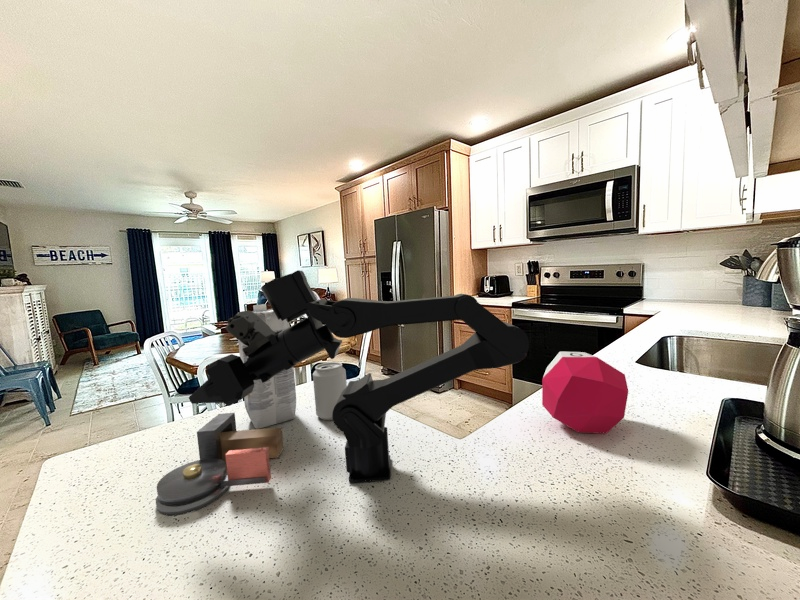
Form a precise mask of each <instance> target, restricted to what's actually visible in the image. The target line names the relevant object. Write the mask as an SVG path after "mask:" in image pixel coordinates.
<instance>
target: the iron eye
mask: <svg viewBox="0 0 800 600" xmlns="http://www.w3.org/2000/svg"><path fill="white" fill-rule="evenodd" d="M229 431H237V422H236V414H235V412H229V413H228V412H226V413H218V414H217V415H216V416H214V417H213V418H212V419H211V420H209V421H208V422H207V423H205V425H203V426H202V427H201V428H199V429H198V430H197V431H196V435H197V437H196V438H197V445H198V455H199V460H202V459H210V458H215V459H221V460H223V459H222V450H221V440H220V432H229Z"/></svg>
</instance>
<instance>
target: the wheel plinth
mask: <svg viewBox="0 0 800 600" xmlns="http://www.w3.org/2000/svg"><path fill="white" fill-rule="evenodd" d="M227 475H228V474H227ZM229 488H230V486H221V487H220V488H218V489H217V490H216V491H214V492H213V493H211V494H210V495H208V496H206V497H204V498H202V499H200V500H197V501H194V502H191V503H188V504H184V505H179V506H165V505H162V504H161V503H159V501H158V495H157V496H156V498H155V508H156V511H157V512H158V513H159V514H160V515H163V516H166V517H167V516H168V517H169V516H171V517H173V516H176V517H177V516H181V515H186V514H189V513H193V512H195V511H198V510H200V509H203V508H205V507H207V506H209V505H211V504H212V503H214V502H215V501H217V500H218V499H220V498H221V497H222V496H223V495H224V494H225V493H226V492H227V490H228V489H229Z"/></svg>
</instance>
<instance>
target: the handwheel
mask: <svg viewBox="0 0 800 600" xmlns="http://www.w3.org/2000/svg"><path fill="white" fill-rule="evenodd" d="M270 460H271V459H270V458H269V450H268V447H265V448H254V449H242V450H230V451H228V452H227V454H226V462H224V461H223V460H221V459H215V458H210V459H202V460H200V459H198V460H195V461H191V462H187V463H186V464H183V465H181V466H179V467H176V468H174V469H173V470H171V471H169V472H168V473H166V474H164V475H163V476H162V477H161V478H160V479H159V481H158V482H157V485H156V493H157V496H158V501H159V503H161V504H162V505H165V506H179V505H184V504H188V503H191V502H194V501H197V500H200V499H202V498H204V497H206V496H208V495H210V494H211V493H213V492H214V491H216V490H217V489H218V488H220V487H221V486H229V487H235V486H236V487H237V486H246V485H258V484H269V483H270V481H271V479H272V473H271V471H272V470H271V463H270ZM227 474H228V475H227Z"/></svg>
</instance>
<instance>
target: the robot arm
mask: <svg viewBox="0 0 800 600" xmlns="http://www.w3.org/2000/svg"><path fill="white" fill-rule="evenodd" d="M260 290H261V292H262V294H263V295H264V297H265V299H266V300H267V302H268V304H269V306H270V307H271V308H270V309H273V311H274V313H275V315H276V316H277V318H278V320H280V319H281V320H282V321H283V320H285V319H287V322H288V323H289V324H290V323H291V322H293V321H295V320H297V319H299V318H301V317H303V316H305V315H306V318H304V319H302V320H301V321H299V322H296V323H295V324H292V325H291V326H290V327H289V328H287V329H285V330H283V331H282V330H281V331H278V332H277V333H275V332H274V331H273V330H272V329H271V328H270V327H269V326H268V325H267V324H266V323H265V322H264V321H263V320H261V319H260V318H259V317H258V316H257V315H256V314H255V313H253V312H252V311H253V310H252V311H251V310H244V311H239V312H237V313H236V314H235V315H234V316H232V317H230V318H228V319H227V325H226V326H225V330H226V331H227V332H228V333H229V334H230V335H232V336H233V337H234V338H235V339H236V340H237V341H238V340H240V341H241V342H242V343H243V344H245V345H247V347H245V348H243V349H242V350H243V352H244V353H245V355H246V356H248V357H247V361H246V362H245V363H243V361H242V359H241V358H240V355H235V354H233V353H231V354H228V355H226V356H223V357H221V358H219V359H218V358H217V360H214V361H212V362H211V363H209V364H207V365H206V367H205V371H206V373H207V375H208V379H207V380H206V381H205V382H204V383H202V385H200V386H199V387H198V388H197V389H196V390H195V391H194V392H193V393H191V394H190V396H189V397H188V399H189V401H190V403H191V404H193V405H194V404H214V403H215V404H216V403H217V404H224V405H226V406H228V407H230V406H232V405H234V404H236V403H237V402H240V401H241V400H244V397H246V396H247V395H248V394H250V393H251V392H252V391H253V388H254V384H255V383H254V381H253V380H260V379H261V381H262V383H264V382H266V381H267V380H269V379H271V378H272V377H273V376H275V375H277V374H279V373H281V372H283V371H285V370H288V369H290V368H292V367H294V366H296V365H298V364H299V363H301V362H303V361H305V360H307V359H309V358H311V357H312V356H314V355H315V356H316V354H318V353H320V352H322V351H324V350H325V351H326V353H327V355H328V357H329V359H331V360H333V359H335V358H336V356H338V354H339V352H340V351H339V350H340V348H341V345H342V344H343V340H342V339H347V338H349V339H350V338H352V337H356V336H359V335H360V336H361V335H364V334H367V333H369V332H372V331H373V332H374V331H376V330H379V329H382V328H386V327H391V326H392V327H393V326H403V325H415V324H426V323H427V324H428V323H437V322H449V321H463V323H465V325H467V326H468V327H470V329H471V330H473V331H474V333H473V334H472V335H471V336H470V337H469V338H468V339H467V340H466V341H464V342H463V343H462V344H460V345H458V346H456V347H454V348H452V349H449V350H447V351H445V352H444V353H440V354H438V355H436V356H434V357H432V358H429V359H427V360H424V361H423V362H421V363H419V364H416V365H414V366H412V367H409V368H407V369H405V370H402V371H401V372H398V373H396V374H394V375H391V376H389V377H387V378H384V379H376V380H375V379H373V377H372V373H370V372H369V373H368V374H365V375H364V376H363V377H361V378H359V379H357V380H349V382H347V383H348V384H347V387H346V388H345V389H344V390H343V392H342V393H341V395H340V397H339V399H338V401H337V403H336V405H335V407H334V410H333V414H332V418H333V420H332V421H333V424H334V425H335V427H336V428H337V429H338V430H340V432H342V433H343V435H344V437H345V439H346V442H345V446H344V453H345V455H344V456H345V466H346V473H347V474H348V473H349V475H348V482H349V483H350V484H354V483H364V482H367V483H368V482H377V481H385V480H386V481H387V480H390V479H392V477H391V476H392V473H391V471H392V470H391V469H392V467H391V455H390V447H389V435H388V427H387V426H385V424H386V418H387V417H386V415H387V412H389V411H390V410H391V409H392V408H394V407H395V406H397V405H399V404H402V403H404V402H406V401H408V400H410V399H413V398H415V397H417V396H420V395H422V394H424V393H426V392H429V391H431V390H433V389H435V388H437V387H440V386H442V385H444V384H446V383H449V382H452V381H453V380H455V379H458V378H460V377H462V376H465V375H467V374H469V373H471V372H474V371H478V370H487V369H488V370H490V369H499V368H502V367H506V366H511V365H514V364H518V363H520V362H522V361H523V360H524V359H525V358H526V357H527V354H528V352H529V349H530V341H529V336H528V335H527V333H526V332H525V331H524V330H523V329H522V328H520V327H518V326H516V325H513V324H511V323H509V322H506V321H503V320H502V319H500V318H498V317H497V316H496V315H495V314H493V313H492V312H491V311H489V310H488V309H486V308H485V307H484V306H483V305H482V304H481V303H479V301H478V300H477V299H476V298H475V296H472V295H470V294H466V293H458V294H455V295H449V296H435V297H434V296H433V297H427V298H426V297H425V298H424V297H423V298H416V299H415V298H414V299H412V298H411V299H402V300H392V301H391V300H389V301H383V300H375V299H369V298H355V297H346V298H342V299H340V300H338V301H334V300H330V299H329V300H328V299H326V298H324V299H317V297H316V295H315V294H314V291H313V290H312V288H311V286H310V284H309V282H308V279H307V276H306V275H305V272H304V270H300V269H299V270H295V271H293V272H291V273H288V274H286V275H284V276H281V277H278V278H277V277H276V278H274V279H271V280H270V281H268V282H266V283H265V284H263V285H262V286H261V287H260ZM336 337H337V338H336ZM338 338H341V339H338Z"/></svg>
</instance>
